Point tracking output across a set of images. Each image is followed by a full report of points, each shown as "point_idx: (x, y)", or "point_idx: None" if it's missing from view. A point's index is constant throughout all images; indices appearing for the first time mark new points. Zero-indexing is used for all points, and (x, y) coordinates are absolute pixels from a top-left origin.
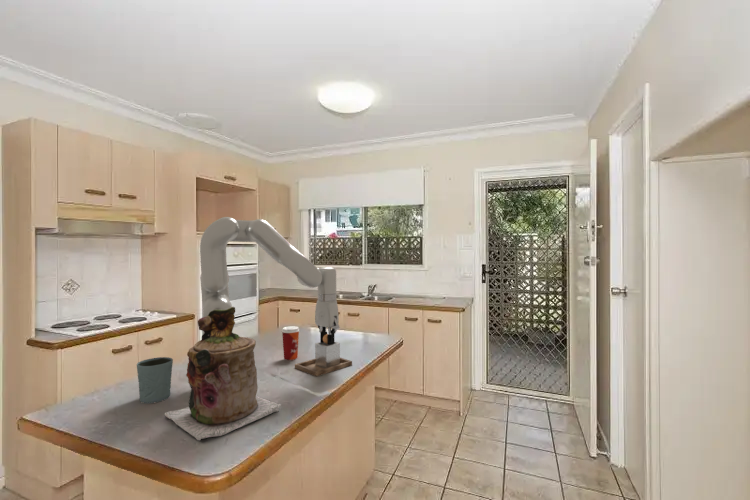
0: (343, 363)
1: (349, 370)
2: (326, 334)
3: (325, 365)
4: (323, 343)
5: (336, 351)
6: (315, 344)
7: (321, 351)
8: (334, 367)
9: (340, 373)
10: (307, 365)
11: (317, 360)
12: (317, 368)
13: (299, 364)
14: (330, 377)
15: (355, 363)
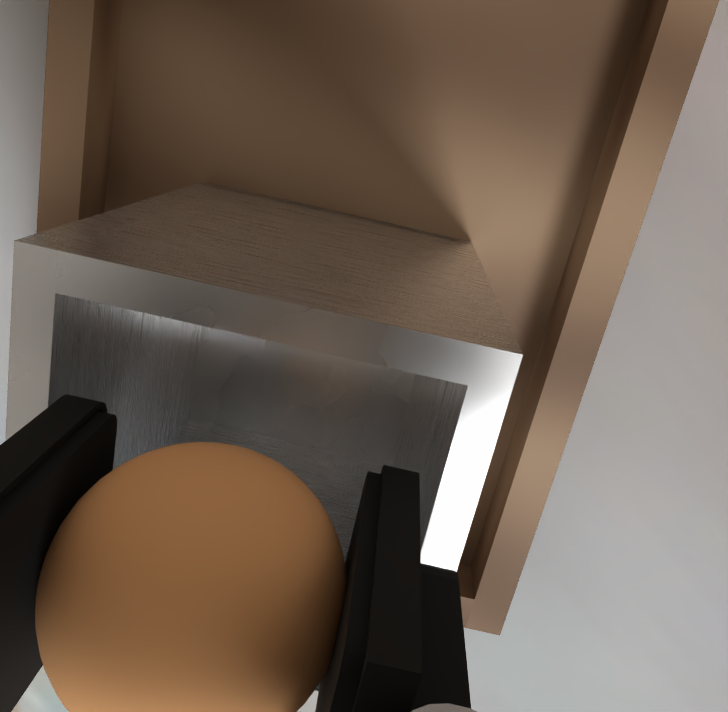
0: None
1: (6, 376)
2: (159, 677)
3: (212, 191)
4: None
5: None
6: (508, 343)
7: (271, 254)
8: (43, 198)
9: (15, 224)
10: (588, 177)
11: (419, 245)
12: (347, 139)
13: (665, 2)
14: (7, 11)
15: None
